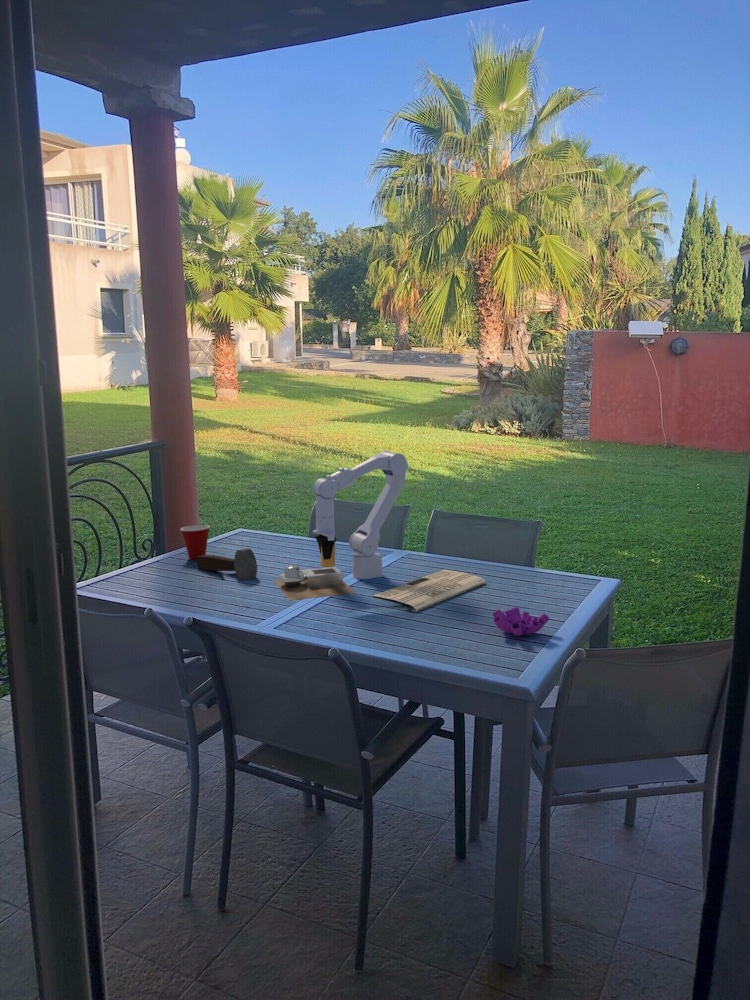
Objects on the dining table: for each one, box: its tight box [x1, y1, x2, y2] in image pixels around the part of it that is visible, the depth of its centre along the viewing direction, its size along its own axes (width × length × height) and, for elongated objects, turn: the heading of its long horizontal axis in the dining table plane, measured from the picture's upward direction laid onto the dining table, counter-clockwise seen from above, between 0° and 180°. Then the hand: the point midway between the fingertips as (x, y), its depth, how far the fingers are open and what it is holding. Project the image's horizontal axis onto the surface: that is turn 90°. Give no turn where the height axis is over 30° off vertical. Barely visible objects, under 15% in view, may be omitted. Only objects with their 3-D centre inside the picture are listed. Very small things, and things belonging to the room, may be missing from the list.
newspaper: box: [372, 569, 486, 613], centre depth 246 cm, size 37×19×3 cm, turn 139°
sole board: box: [274, 579, 356, 602], centre depth 249 cm, size 21×22×2 cm
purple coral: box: [492, 606, 550, 637], centre depth 209 cm, size 11×15×10 cm
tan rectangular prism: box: [320, 544, 336, 568], centre depth 253 cm, size 4×2×7 cm, turn 109°
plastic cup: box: [179, 524, 211, 561], centre depth 290 cm, size 11×11×12 cm
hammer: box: [195, 547, 258, 581], centre depth 267 cm, size 5×11×30 cm
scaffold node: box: [278, 564, 344, 587], centre depth 252 cm, size 20×9×6 cm, turn 109°
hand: (325, 557), depth 253 cm, fingers closed on tan rectangular prism, 2 cm apart
